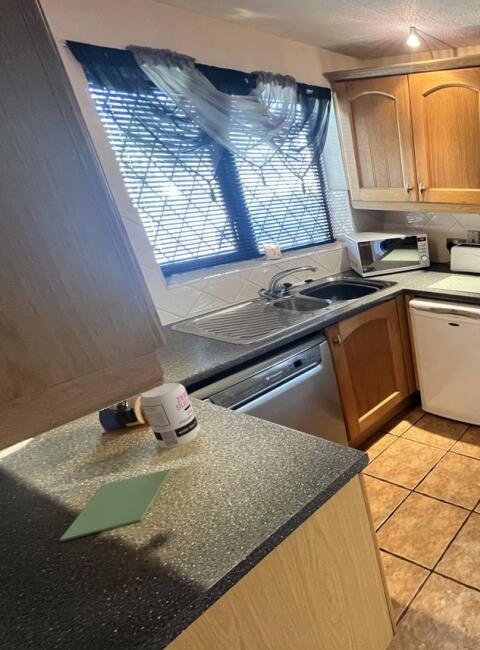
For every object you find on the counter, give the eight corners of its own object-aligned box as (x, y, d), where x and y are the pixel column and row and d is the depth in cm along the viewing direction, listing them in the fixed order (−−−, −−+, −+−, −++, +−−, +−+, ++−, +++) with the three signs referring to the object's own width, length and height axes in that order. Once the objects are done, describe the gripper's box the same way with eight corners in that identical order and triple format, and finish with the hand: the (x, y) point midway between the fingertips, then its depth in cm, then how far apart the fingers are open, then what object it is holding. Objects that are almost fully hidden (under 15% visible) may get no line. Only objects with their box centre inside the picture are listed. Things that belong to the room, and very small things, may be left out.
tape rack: (99, 442, 96) (91, 426, 94) (118, 421, 104) (111, 406, 102) (149, 432, 99) (142, 416, 97) (164, 413, 107) (157, 397, 105)
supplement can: (159, 439, 97) (137, 388, 91) (200, 424, 102) (181, 376, 97) (160, 456, 91) (137, 403, 86) (203, 440, 96) (183, 389, 91)
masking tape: (127, 432, 98) (116, 407, 95) (141, 415, 105) (131, 391, 102) (142, 429, 99) (131, 404, 96) (155, 412, 106) (145, 389, 103)
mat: (60, 542, 71) (59, 540, 70) (103, 486, 83) (102, 484, 83) (141, 520, 75) (140, 519, 74) (171, 470, 87) (170, 468, 87)
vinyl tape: (106, 436, 97) (94, 411, 94) (122, 419, 103) (111, 395, 100) (121, 433, 98) (110, 408, 95) (136, 416, 104) (125, 392, 101)
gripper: (112, 342, 101) (136, 399, 107) (69, 374, 86) (101, 437, 92) (147, 337, 103) (169, 393, 110) (112, 367, 88) (140, 430, 95)
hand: (138, 413), depth 101 cm, fingers closed on masking tape, 7 cm apart
